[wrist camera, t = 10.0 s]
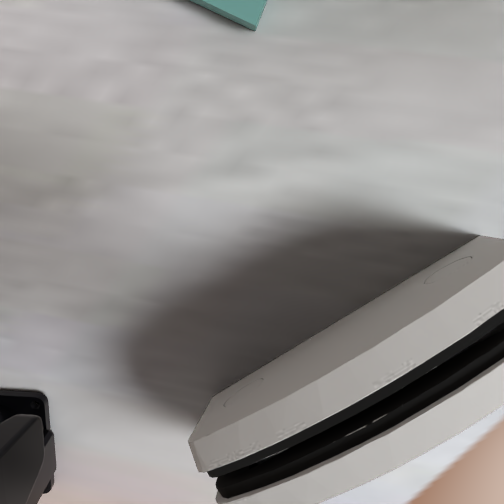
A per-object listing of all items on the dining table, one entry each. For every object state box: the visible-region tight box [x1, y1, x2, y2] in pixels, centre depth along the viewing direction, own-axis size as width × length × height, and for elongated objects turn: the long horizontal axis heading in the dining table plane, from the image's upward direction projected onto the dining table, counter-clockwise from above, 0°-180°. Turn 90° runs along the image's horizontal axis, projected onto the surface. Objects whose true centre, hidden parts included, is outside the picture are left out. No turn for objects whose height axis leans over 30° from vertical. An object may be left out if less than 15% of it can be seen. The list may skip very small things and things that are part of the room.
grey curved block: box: [188, 236, 504, 504], centre depth 18 cm, size 17×5×10 cm, turn 124°
